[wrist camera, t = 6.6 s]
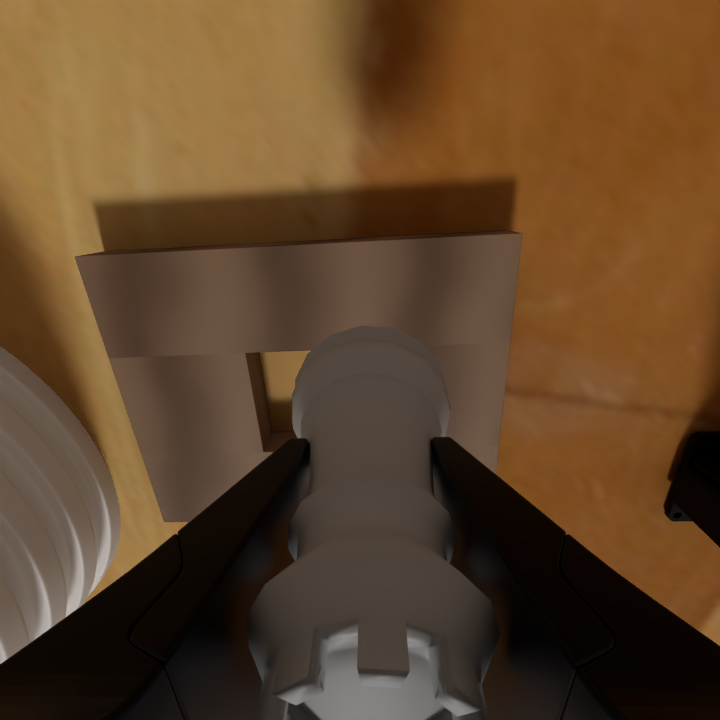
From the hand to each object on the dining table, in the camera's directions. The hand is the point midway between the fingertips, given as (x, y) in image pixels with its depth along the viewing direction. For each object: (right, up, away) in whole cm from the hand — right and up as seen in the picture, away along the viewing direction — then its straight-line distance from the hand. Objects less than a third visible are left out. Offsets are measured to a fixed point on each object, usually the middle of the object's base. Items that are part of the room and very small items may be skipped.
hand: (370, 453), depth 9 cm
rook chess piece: (0, +1, +3) cm, 3 cm away
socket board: (-3, +1, +13) cm, 13 cm away
